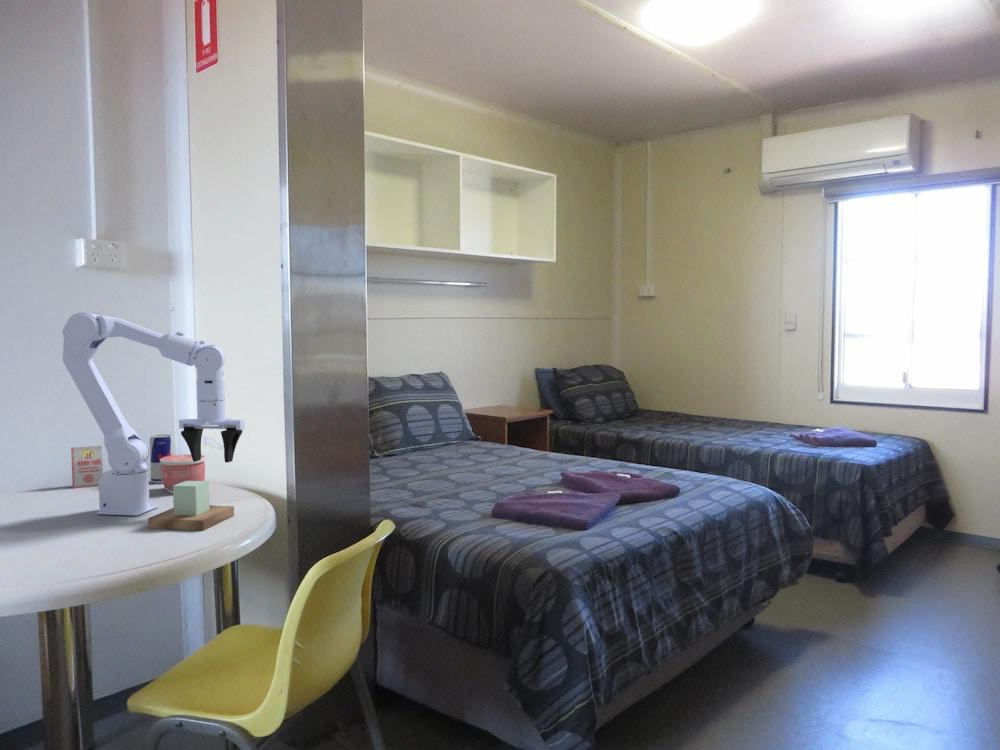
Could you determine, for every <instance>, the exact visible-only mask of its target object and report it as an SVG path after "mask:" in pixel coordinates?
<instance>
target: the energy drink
mask: <svg viewBox="0 0 1000 750" xmlns="http://www.w3.org/2000/svg"><path fill="white" fill-rule="evenodd" d="M149 448H150V455H149V458H150V459H149V460H150V461H149V466H150V483H152V484H155V485H156V484H158V485H159V484H162V485H163V483H162V472H161V466H162V464H160V459H161V458H164V457H168V456H174V455H173V453H174V452H173V449H174V448H173V437H172V434H167V433H166V434H154V435H151V436H150V438H149Z"/></svg>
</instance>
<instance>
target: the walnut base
mask: <svg viewBox="0 0 1000 750" xmlns="http://www.w3.org/2000/svg"><path fill="white" fill-rule="evenodd" d="M209 505H210V510H208V511H206V512H203V513H201V514H199V515H197V516H195V515H174V507H172V508H170V509H168V510H165V511H162V512H160V513H158V514H155V515H153V516H150V517H148V518H147V524H148V525H147V528H148V529H161V530H163V529H164V530H184V531H185V530H187V531H202V532H203V531H206V530H208V529H210V528H212V527H213V526H216V525H217V524H219V523H222V522H224V521H226V520H229V519H230V518H231V517H234V516H235V506H234V505H213V504H209Z"/></svg>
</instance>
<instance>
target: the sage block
mask: <svg viewBox="0 0 1000 750" xmlns="http://www.w3.org/2000/svg"><path fill="white" fill-rule="evenodd" d="M172 494H173V495H172V497H173V499H172V503H173V508H174V515H195V516H197V515H199V514H201V513H203V512H206V511H208V510H210V505H211V504H210V481H207V480H204V481H184V482H182V483H179V484H176V485H173V493H172Z"/></svg>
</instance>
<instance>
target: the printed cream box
mask: <svg viewBox="0 0 1000 750" xmlns="http://www.w3.org/2000/svg"><path fill="white" fill-rule="evenodd" d="M102 449H103V448H102V445H89V446H88V445H87V446H74V447H70V450H71V454H70V455H71V477H72V478H71V479H72V482H71V483H72V489H81V488H82V489H83V488H91V487H99V481H100V478H101V476H102V475H103V474H104V470H103V450H102Z"/></svg>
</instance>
